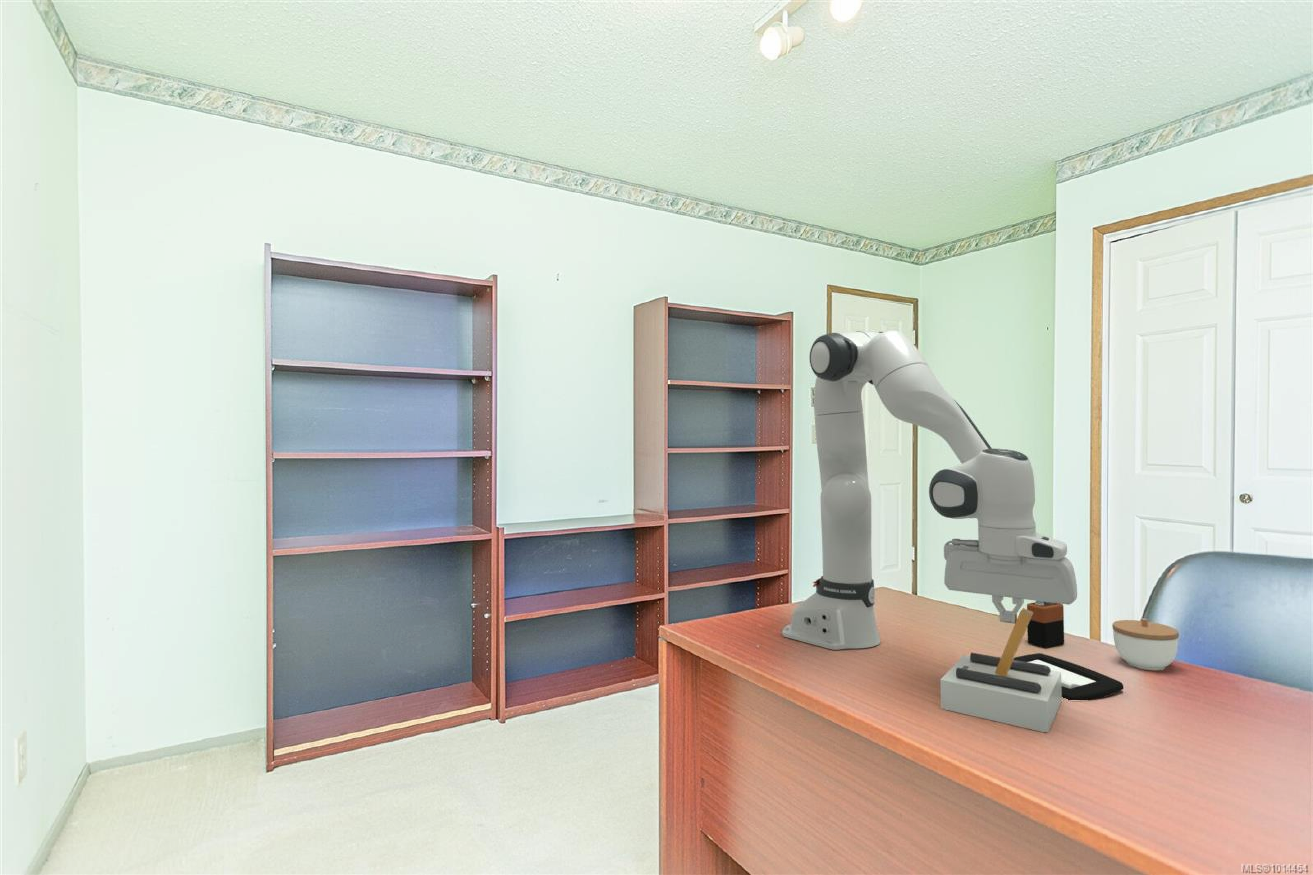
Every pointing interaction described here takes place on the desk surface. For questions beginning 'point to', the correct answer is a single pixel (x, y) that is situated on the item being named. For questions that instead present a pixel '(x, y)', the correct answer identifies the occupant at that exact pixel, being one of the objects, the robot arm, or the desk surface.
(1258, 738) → the desk surface
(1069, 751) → the desk surface
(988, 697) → the box
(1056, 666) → the black picture frame
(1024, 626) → the lever
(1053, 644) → the battery
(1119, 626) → the lidded jar
